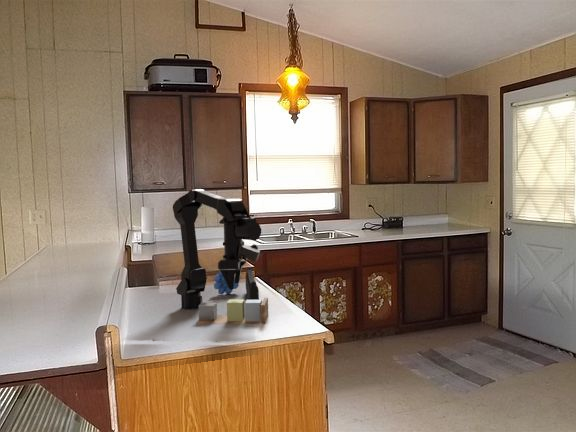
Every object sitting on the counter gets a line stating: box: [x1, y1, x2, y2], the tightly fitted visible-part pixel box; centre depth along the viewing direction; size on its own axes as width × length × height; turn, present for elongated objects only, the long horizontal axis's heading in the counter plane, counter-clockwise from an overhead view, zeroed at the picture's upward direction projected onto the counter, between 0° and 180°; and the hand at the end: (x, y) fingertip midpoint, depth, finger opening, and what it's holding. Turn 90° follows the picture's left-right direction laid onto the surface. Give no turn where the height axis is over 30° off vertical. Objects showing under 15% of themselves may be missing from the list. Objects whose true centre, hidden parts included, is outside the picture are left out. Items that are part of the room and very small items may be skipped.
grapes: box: [213, 269, 242, 295], centre depth 191 cm, size 12×7×12 cm, turn 114°
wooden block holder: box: [195, 297, 269, 325], centre depth 152 cm, size 22×9×7 cm, turn 85°
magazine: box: [245, 267, 260, 300], centre depth 177 cm, size 17×3×30 cm
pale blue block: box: [244, 299, 263, 321], centre depth 151 cm, size 5×4×6 cm
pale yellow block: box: [226, 299, 245, 321], centre depth 152 cm, size 5×4×6 cm
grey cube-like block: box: [198, 302, 218, 321], centre depth 153 cm, size 5×4×5 cm
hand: (234, 286), depth 151 cm, fingers open, 9 cm apart
